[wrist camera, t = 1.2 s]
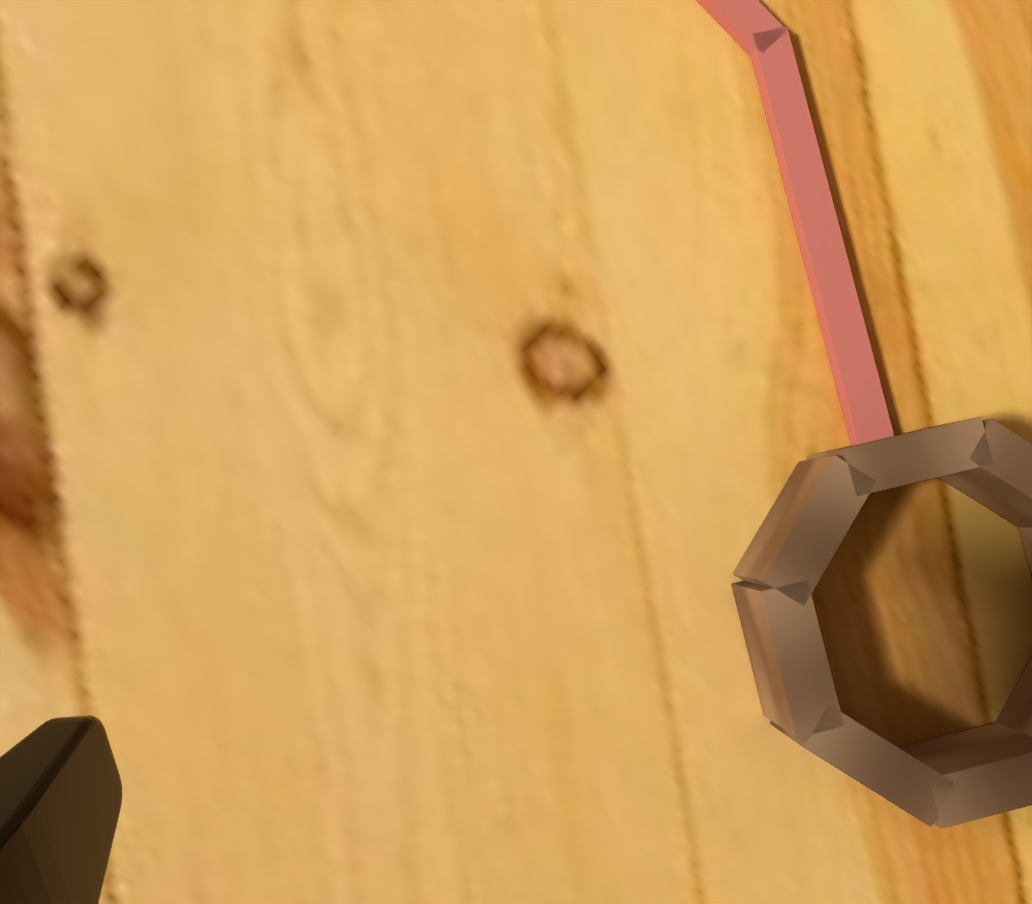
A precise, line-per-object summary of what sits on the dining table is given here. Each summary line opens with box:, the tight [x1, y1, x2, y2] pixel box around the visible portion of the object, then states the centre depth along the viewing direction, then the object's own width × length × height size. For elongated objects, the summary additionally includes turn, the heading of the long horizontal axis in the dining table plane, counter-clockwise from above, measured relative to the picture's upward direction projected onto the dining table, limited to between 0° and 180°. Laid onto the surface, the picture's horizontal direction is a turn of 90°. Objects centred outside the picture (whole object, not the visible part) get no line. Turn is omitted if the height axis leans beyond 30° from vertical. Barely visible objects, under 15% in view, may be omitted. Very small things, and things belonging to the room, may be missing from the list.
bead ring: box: [731, 417, 1032, 828], centre depth 23 cm, size 9×9×2 cm
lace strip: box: [697, 0, 894, 446], centre depth 25 cm, size 16×3×1 cm, turn 13°
